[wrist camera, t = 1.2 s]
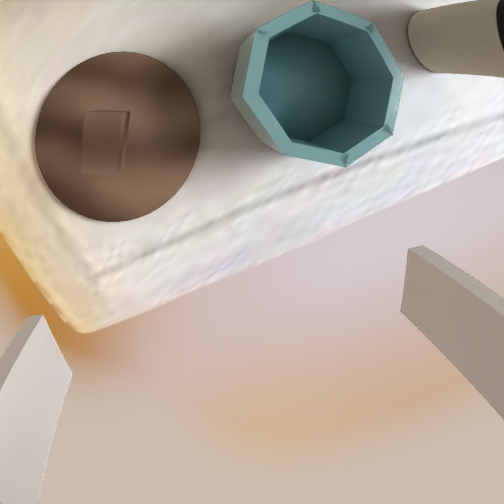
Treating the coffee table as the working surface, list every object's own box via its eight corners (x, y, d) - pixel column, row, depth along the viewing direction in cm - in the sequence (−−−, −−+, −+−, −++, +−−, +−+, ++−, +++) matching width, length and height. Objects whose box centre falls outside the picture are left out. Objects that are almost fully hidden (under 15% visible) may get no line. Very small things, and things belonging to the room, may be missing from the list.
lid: (49, 56, 21) (25, 50, 16) (213, 60, 25) (217, 51, 20) (40, 212, 27) (19, 232, 23) (188, 223, 31) (188, 246, 27)
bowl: (245, 15, 23) (264, -13, 16) (362, 48, 26) (409, 39, 19) (222, 136, 28) (233, 147, 21) (340, 157, 31) (382, 176, 23)
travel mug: (426, 83, 28) (561, 102, 12) (394, 21, 24) (530, 2, 9) (462, 60, 27) (583, 73, 11) (434, 4, 23) (556, -9, 8)
